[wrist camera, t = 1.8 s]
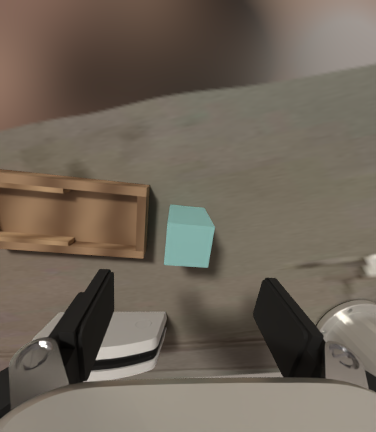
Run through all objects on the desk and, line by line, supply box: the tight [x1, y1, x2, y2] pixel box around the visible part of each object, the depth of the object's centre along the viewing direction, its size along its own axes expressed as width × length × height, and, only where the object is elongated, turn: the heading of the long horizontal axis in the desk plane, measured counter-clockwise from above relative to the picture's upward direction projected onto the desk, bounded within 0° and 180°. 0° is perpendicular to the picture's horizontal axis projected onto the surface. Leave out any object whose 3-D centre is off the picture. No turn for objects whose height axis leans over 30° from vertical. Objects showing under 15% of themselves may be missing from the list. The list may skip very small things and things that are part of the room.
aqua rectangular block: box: [164, 205, 215, 268], centre depth 21 cm, size 4×4×7 cm
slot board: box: [0, 169, 150, 259], centre depth 22 cm, size 19×9×2 cm, turn 83°
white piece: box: [33, 312, 167, 382], centre depth 25 cm, size 17×5×10 cm, turn 87°
